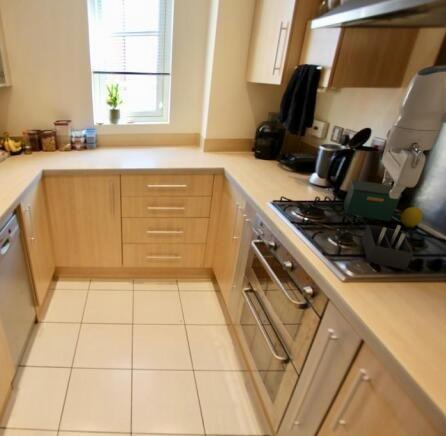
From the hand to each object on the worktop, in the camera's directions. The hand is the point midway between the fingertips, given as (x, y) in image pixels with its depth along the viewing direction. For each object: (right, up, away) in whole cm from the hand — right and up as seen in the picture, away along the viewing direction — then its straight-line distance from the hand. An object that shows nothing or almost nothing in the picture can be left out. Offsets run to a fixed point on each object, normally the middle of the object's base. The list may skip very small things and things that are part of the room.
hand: (389, 190), depth 84 cm
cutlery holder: (+9, -19, +14) cm, 26 cm away
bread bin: (+25, -5, +41) cm, 48 cm away
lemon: (+32, -11, +30) cm, 45 cm away
